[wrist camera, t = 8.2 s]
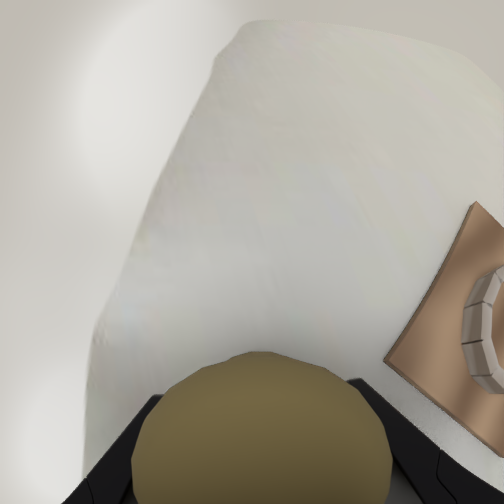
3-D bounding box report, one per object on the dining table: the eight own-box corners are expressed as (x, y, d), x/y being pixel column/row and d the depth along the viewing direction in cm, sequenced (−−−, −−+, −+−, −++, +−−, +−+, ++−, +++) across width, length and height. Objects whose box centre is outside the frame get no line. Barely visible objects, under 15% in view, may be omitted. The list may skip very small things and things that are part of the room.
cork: (209, 341, 15) (110, 291, 5) (331, 359, 15) (465, 343, 4) (188, 454, 13) (82, 571, 3) (310, 473, 13) (384, 610, 2)
